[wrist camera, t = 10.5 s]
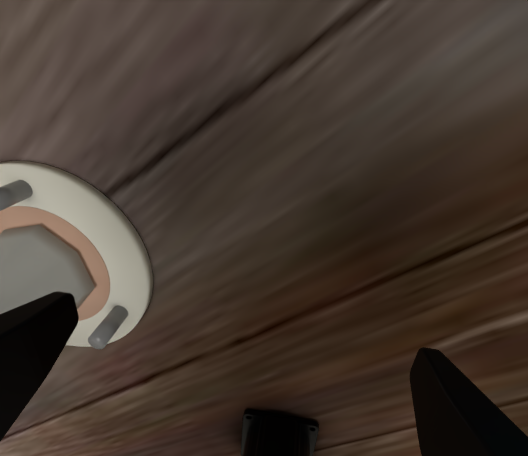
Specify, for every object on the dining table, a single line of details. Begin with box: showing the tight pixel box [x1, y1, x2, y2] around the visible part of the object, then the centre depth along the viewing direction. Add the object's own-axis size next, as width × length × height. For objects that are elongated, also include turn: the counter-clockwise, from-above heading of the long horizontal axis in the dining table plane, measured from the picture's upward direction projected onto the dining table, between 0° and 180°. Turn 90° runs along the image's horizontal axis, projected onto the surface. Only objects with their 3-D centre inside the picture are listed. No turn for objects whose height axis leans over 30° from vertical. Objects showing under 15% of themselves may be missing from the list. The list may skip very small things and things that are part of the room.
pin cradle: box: [0, 161, 153, 349], centre depth 22 cm, size 15×15×4 cm
